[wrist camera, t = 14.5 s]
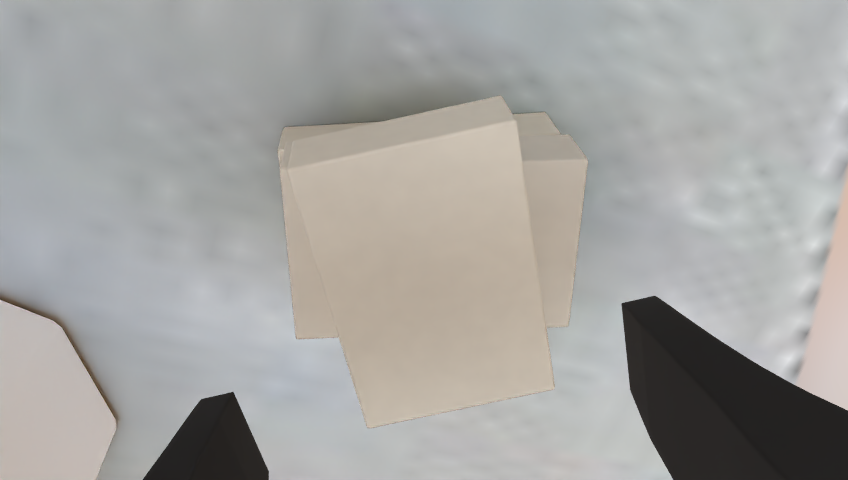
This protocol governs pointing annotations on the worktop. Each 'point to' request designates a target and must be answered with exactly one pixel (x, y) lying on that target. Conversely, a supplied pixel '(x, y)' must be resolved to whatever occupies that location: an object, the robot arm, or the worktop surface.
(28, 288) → the worktop surface
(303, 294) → the beige block
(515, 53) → the worktop surface
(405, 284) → the beige rectangular block
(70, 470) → the cup
